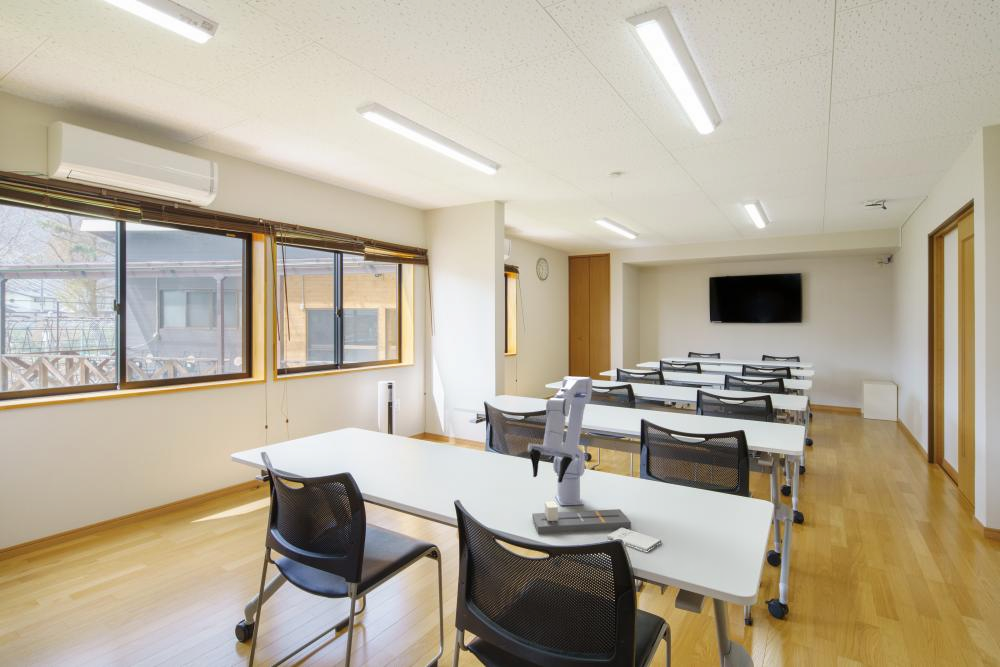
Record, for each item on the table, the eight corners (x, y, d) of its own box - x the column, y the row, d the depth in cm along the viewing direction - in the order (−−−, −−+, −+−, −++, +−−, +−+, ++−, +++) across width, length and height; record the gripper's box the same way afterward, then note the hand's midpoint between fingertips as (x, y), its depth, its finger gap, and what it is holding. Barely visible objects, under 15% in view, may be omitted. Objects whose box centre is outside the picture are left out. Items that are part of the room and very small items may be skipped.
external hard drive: (646, 555, 137) (607, 540, 145) (661, 545, 142) (622, 531, 151) (646, 548, 137) (607, 534, 145) (661, 539, 142) (622, 526, 151)
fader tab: (544, 514, 157) (544, 501, 157) (554, 514, 157) (554, 501, 157) (548, 521, 152) (547, 507, 152) (557, 520, 152) (557, 507, 152)
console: (532, 519, 159) (532, 513, 159) (619, 515, 162) (619, 508, 162) (537, 533, 149) (537, 526, 149) (630, 528, 152) (630, 521, 152)
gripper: (533, 426, 154) (526, 471, 148) (580, 437, 155) (574, 482, 149) (529, 432, 160) (521, 475, 154) (573, 442, 161) (568, 486, 155)
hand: (547, 479), depth 152 cm, fingers open, 7 cm apart
